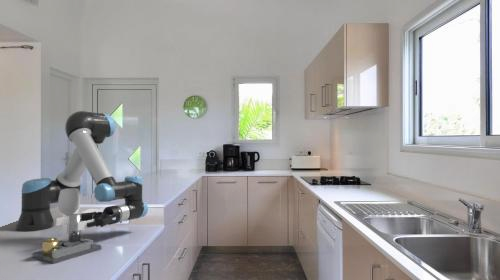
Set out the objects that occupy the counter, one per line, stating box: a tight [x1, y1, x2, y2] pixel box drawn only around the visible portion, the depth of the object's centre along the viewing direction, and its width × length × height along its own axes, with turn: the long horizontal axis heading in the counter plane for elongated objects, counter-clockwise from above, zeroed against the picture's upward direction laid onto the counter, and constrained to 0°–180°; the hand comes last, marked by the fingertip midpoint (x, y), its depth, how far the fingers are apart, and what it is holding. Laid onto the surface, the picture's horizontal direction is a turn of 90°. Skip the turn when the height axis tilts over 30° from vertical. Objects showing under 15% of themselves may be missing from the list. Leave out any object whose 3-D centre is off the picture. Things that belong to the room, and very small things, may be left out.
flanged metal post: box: [64, 213, 86, 247], centre depth 121 cm, size 7×7×12 cm
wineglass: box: [56, 188, 81, 242], centre depth 137 cm, size 9×9×21 cm
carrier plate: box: [31, 237, 102, 265], centre depth 118 cm, size 14×18×6 cm
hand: (66, 224), depth 118 cm, fingers open, 13 cm apart
